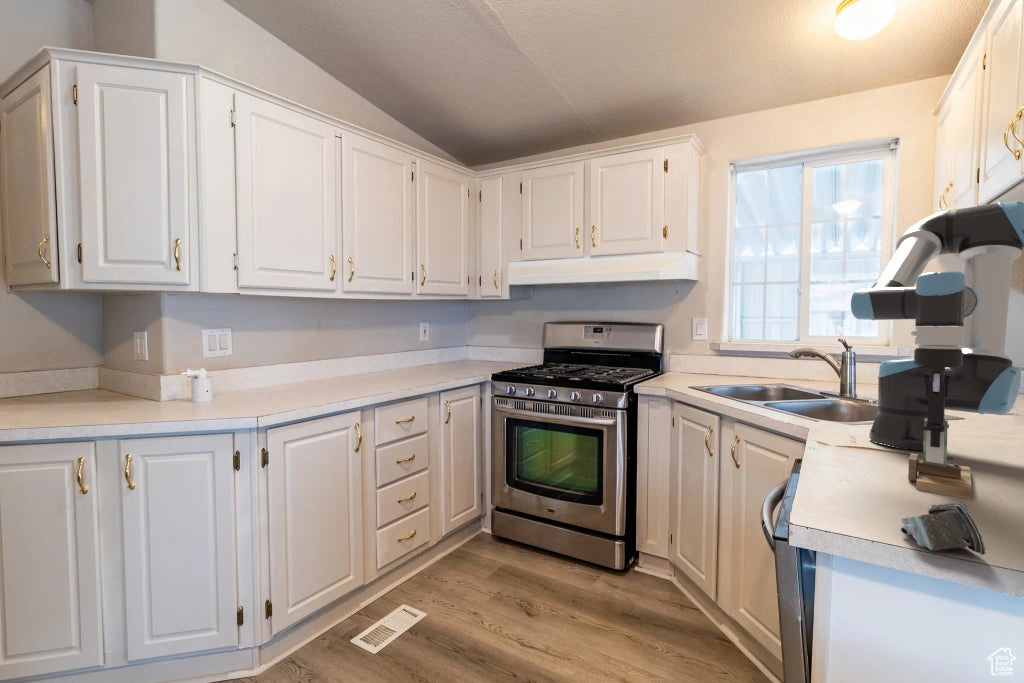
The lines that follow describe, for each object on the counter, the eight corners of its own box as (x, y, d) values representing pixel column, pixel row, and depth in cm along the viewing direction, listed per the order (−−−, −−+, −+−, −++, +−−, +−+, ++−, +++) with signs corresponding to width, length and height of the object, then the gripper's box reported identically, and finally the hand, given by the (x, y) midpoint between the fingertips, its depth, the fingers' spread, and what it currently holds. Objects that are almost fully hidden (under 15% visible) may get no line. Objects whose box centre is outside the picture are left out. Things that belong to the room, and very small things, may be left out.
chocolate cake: (882, 517, 82) (895, 489, 73) (929, 509, 80) (948, 479, 72) (917, 577, 75) (936, 554, 67) (970, 569, 73) (995, 544, 65)
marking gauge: (910, 473, 105) (911, 416, 105) (960, 481, 100) (962, 421, 99) (908, 479, 101) (909, 420, 100) (960, 488, 95) (962, 425, 95)
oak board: (921, 468, 111) (921, 459, 111) (969, 475, 106) (969, 466, 106) (916, 490, 96) (916, 480, 96) (971, 500, 91) (971, 489, 91)
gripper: (916, 345, 108) (914, 449, 108) (911, 348, 96) (908, 465, 97) (962, 346, 102) (959, 455, 103) (963, 349, 91) (959, 472, 91)
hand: (935, 460), depth 100 cm, fingers closed on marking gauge, 3 cm apart
